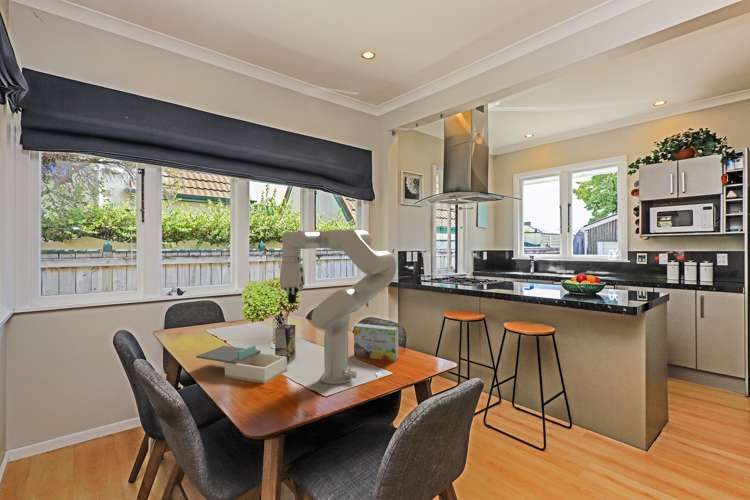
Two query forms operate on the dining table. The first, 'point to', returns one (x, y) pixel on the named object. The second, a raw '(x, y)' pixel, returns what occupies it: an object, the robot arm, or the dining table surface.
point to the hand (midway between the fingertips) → (292, 303)
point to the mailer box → (257, 368)
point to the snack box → (376, 342)
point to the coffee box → (285, 342)
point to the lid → (229, 354)
